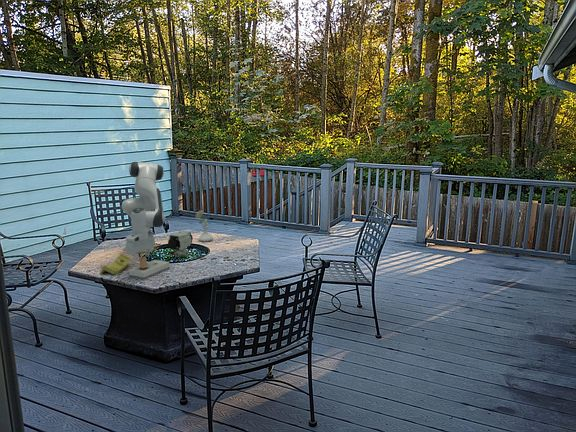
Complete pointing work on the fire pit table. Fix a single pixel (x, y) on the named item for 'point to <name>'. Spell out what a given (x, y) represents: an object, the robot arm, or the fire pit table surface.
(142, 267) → the brown cylinder
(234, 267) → the fire pit table surface
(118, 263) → the plastic component
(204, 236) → the flower in vase
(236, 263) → the fire pit table surface
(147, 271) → the fitting block
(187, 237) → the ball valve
